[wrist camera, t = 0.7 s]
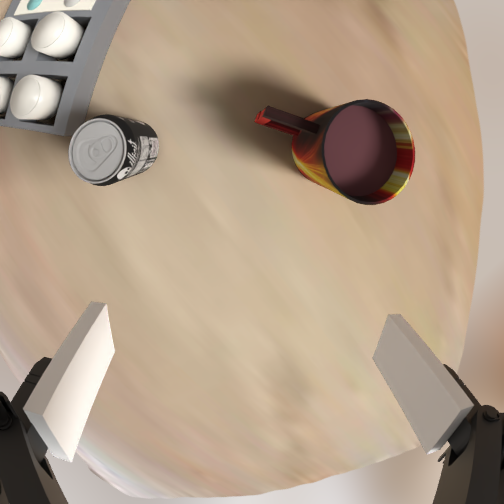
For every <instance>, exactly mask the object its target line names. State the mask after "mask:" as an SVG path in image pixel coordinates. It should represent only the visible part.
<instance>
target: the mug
mask: <svg viewBox="0 0 504 504" xmlns="http://www.w3.org/2000/svg"><path fill="white" fill-rule="evenodd" d="M254 122H255V123H258V124H261V125H264V126H267V127H270V128H273V129H276V130H279V131H282V132H285V133H288V134H290V135H293V139H292V155H293V159H294V161H295V164H296V166H297V168H298V169H299V171H300V172H301V173H302V174H303V175H304V176H305V177H306V178H307V179H309V180H310V181H312V182H314V183H316V184H318V185H320V186H323V187H325V188H327V189H329V190H331V191H333V192H335V193H337V194H339V195H341V196H343V197H345V198H347V199H350V200H352V201H354V202H356V203H360V204H365V205H376V204H380V203H384V202H386V201H389V200H391V199H392V198H394V197H395V196H396V195H398V194H399V193H400V192H401V191H402V190H403V188H404V187H405V186H406V184H407V183H408V181H409V179H410V177H411V174H412V172H413V168H414V163H415V147H414V141H413V138H412V134H411V132H410V130H409V128H408V126H407V124H406V122H405V121H404V120H403V118H402V117H401V116H400V115H399V114H398V113H397V112H396V111H395V110H394V109H393V108H391V107H389V106H388V105H386V104H384V103H381V102H379V101H375V100H368V99H365V100H356V101H353V102H349V103H346V104H342V105H339V106H335V107H332V108H329V109H326V110H322V111H319V112H316V113H314V114H311V115H309V116H308V117H306V118H305V119H303V118H301V117H298V116H295V115H292V114H289V113H287V112H284V111H281V110H278V109H275V108H273V107H270V106H267V107H266V108H265V109H264V110H263V111H262V112H261V111H260V112H259V113H258V114H257V116H256V119H255V121H254Z"/></svg>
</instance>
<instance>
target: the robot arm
mask: <svg viewBox="0 0 504 504" xmlns="http://www.w3.org/2000/svg"><path fill="white" fill-rule="evenodd" d="M114 352H115V350H114V345H113V339H112V334H111V329H110V323H109V317H108V311H107V304H106V303H100V302H91V303H90V304H89V306H88V307H87V308H86V310H85V311H84V313H83V314H82V315H81V317H80V318H79V320H78V321H77V323H76V324H75V326H74V327H73V328H72V330H71V331H70V333H69V334H68V336H67V337H66V339H65V340H64V342H63V343H62V345H61V346H60V348H59V349H58V351H57V353H56V354H55V356H54V357H53V359H51V358H47V357H44V358H42V359H41V360H40V361H38V362H37V363H36V364H35V365H34V366H33V368H32V369H31V371H30V372H29V375H27V377H26V378H25V382H23V383H22V385H21V386H20V388H19V390H18V391H17V393H16V395H15V396H14V398H13V400H12V401H11V403H10V401H9V400H8V397H7V396H6V395H5V394H4V393H3V392H0V504H68V502H67V500H66V498H65V496H64V494H63V492H62V490H61V488H60V486H59V484H58V482H57V480H56V478H55V475H54V473H53V471H52V469H51V466H50V464H49V462H48V459H47V458H46V457H45V454H46V451H47V449H49V451H50V452H51V453H52V455H53V456H54V457H57V458H60V459H63V460H66V461H69V462H72V460H73V457H74V454H75V451H76V448H77V445H78V442H79V439H80V437H81V434H82V431H83V428H84V426H85V423H86V420H87V418H88V415H89V412H90V410H91V407H92V405H93V402H94V400H95V397H96V395H97V392H98V390H99V387H100V385H101V382H102V380H103V378H104V375H105V373H106V371H107V368H108V366H109V364H110V361H111V359H112V357H113V355H114ZM373 360H374V362H375V364H376V365H377V367H378V369H379V370H380V372H381V374H382V375H383V377H384V379H385V380H386V382H387V384H388V386H389V387H390V389H391V391H392V393H393V394H394V396H395V398H396V400H397V401H398V403H399V405H400V407H401V408H402V410H403V412H404V414H405V416H406V417H407V419H408V421H409V423H410V425H411V426H412V428H413V430H414V432H415V434H416V435H417V437H418V439H419V441H420V443H421V445H422V447H423V448H424V450H425V452H426V454H429V453H432V452H435V451H437V450H440V449H441V448H442V447H443V445H444V444H445V443H446V442H447V441H448V442H449V444H450V446H449V447H448V449H447V450H446V451H445V452H444V453H443V454H442V455H441V456H440V458H439V459H438V462H440V461H441V460H442V459H443V458H444V457H445V460H444V462H443V463H444V465H443V469H442V473H441V477H440V480H439V484H438V488H437V491H436V495H435V498H434V501H433V504H504V413H499V412H498V410H496V409H495V408H494V407H492V406H489V405H483V406H481V405H480V404H479V402H478V401H477V400H476V398H475V397H474V396H473V394H472V393H471V392H470V390H469V389H468V388H467V387H466V385H464V383H463V382H462V380H461V379H459V377H458V375H457V374H456V373H455V372H454V370H452V369H451V368H450V367H448V366H447V365H446V364H442V363H441V362H440V360H439V359H438V358H437V357H436V356H435V354H434V353H433V352H432V351H431V349H430V348H429V347H428V346H427V345H426V343H425V342H424V341H423V340H422V339H421V338H420V336H419V335H418V334H417V333H416V332H415V330H414V329H413V328H412V327H411V326H410V325H409V323H408V322H407V321H406V320H405V319H404V318H403V317H402V315H401V314H392V315H388V317H387V320H386V322H385V325H384V328H383V331H382V334H381V337H380V339H379V342H378V345H377V347H376V350H375V353H374V355H373Z"/></svg>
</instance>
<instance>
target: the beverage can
mask: <svg viewBox="0 0 504 504" xmlns="http://www.w3.org/2000/svg"><path fill="white" fill-rule="evenodd" d="M158 151H159V141H158V137H157V135H156V133H155V131H154V130H153V129H152V128H151V127H150V126H149V125H147V124H146V123H143V122H140V121H136V120H132V119H127V118H123V117H118V116H114V115H100V116H96V117H94V118H92V119H90V120H89V121H87V122H85V123H84V124H82V125H81V126H80V127H79V128H78V129H77V130H76V131H75V133H74V135H73V136H72V139H71V141H70V145H69V151H68V156H69V162H70V165H71V168H72V170H73V171H74V173H75V174H76V175H77V176H78V177H79V178H80V179H82V180H83V181H85V182H88V183H91V184H93V185H97V186H106V185H110V184H113V183H116V182H118V181H121V180H123V179H126V178H129V177H131V176H134V175H137V174H139V173H142V172H144V171H146V170H147V169H148V168H150V167H151V166H152V164H153V163H154V161H155V160H156V158H157V155H158Z"/></svg>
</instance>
